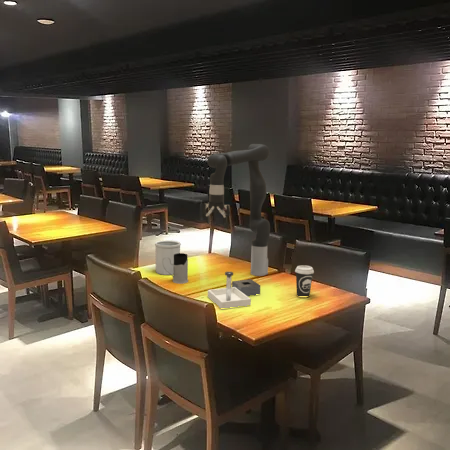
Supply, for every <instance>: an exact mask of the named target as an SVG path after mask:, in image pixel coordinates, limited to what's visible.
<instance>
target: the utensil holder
mask: <svg viewBox="0 0 450 450" xmlns="http://www.w3.org/2000/svg"><path fill="white" fill-rule="evenodd" d="M181 245H182V244H181V241H178V240H173V239H172V240H171V239H165V240H164V239H162V240H157V241H155V242H154V246H155V272H156V274H158V275H166V276H171V275H170V274H172V275H173V265H171V264H174V254H177V253H181ZM165 257H169V258H170V259H169V258H165ZM164 258H165V259H164ZM163 259H164V260H163ZM170 260H171V264H170ZM163 264H164V267H165V269H166V270H167V271H168V272H169V273H170V274H169V273H168V272H167V271H166V270H165V269H164V267H163Z"/></svg>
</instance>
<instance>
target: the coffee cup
mask: <svg viewBox="0 0 450 450" xmlns="http://www.w3.org/2000/svg"><path fill="white" fill-rule="evenodd" d="M294 272H295V277H296V278H295V280H296V282H295V283H296V296H297V295H298V296H309V295H310V296H311V288H312V281H313V275H314V273H315V271H314V268H313V267H312V266H311V265H304V264H303V265H297V266H296V268H295V270H294ZM298 296H297V297H298ZM310 296H309V297H310Z"/></svg>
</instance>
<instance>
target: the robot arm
mask: <svg viewBox="0 0 450 450" xmlns="http://www.w3.org/2000/svg"><path fill="white" fill-rule="evenodd" d="M269 156H270V150H269V147H268V146H267V145H266V144H262V143H251V144H250V145H248V148H247V149H243V150H240V149H239V150H233V151H232V150H231V151H228V152H224V153H223V152H222V153H213V154H211V155H209V157H208V158H207V161H206V162H207V165H208V166H209V167H210V168H212V169H215V171H214V172H212V173H211V174H210V176H209V181H210V182H209V191H208V192H209V199H208V200H209V203H203V205H202V215H203V216H205V222H206V223H207V224H210V215H211V214H212V213H218V214H219V213H220V214H221V215H222V216H223V218H222V220H223V221H222V224H223V225H226V224H227V218H228V217H230V216H231V209H230V208H231V205H230V204H225V186H224V184H225V183H224V178H225V175H226V170H227V167H228V166H230V167H231V166H235V165H238V164H243V163H247V164H248V171H249V172H248V173H249V176H248V177H249V196H250V197H249V198H250V200H249V202H250V203H249V204H250V205H249V206H250V212H249V229H250V231H251V232H253V233H256V234H255V235H256V236H255V238H253V239H252V240H251V248H250V249H251V251H250V252H251V253H250V255H251V256H250V275H253V276H257V277H261V276H266V275H268V274H269V258H268V244H269V240H270V233H271V223H270V221H269V220H268V219H265V218H262V206H263V204H264V202H265V200H266V197H267V183H266V180H265V179H264V176H263V175H262V173H261V170H260V165H259V162H264V161H266V160H267V159H268V158H269ZM207 208H209V210H208V212H207ZM224 208H225V210H226V211H225V210H224Z"/></svg>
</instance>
